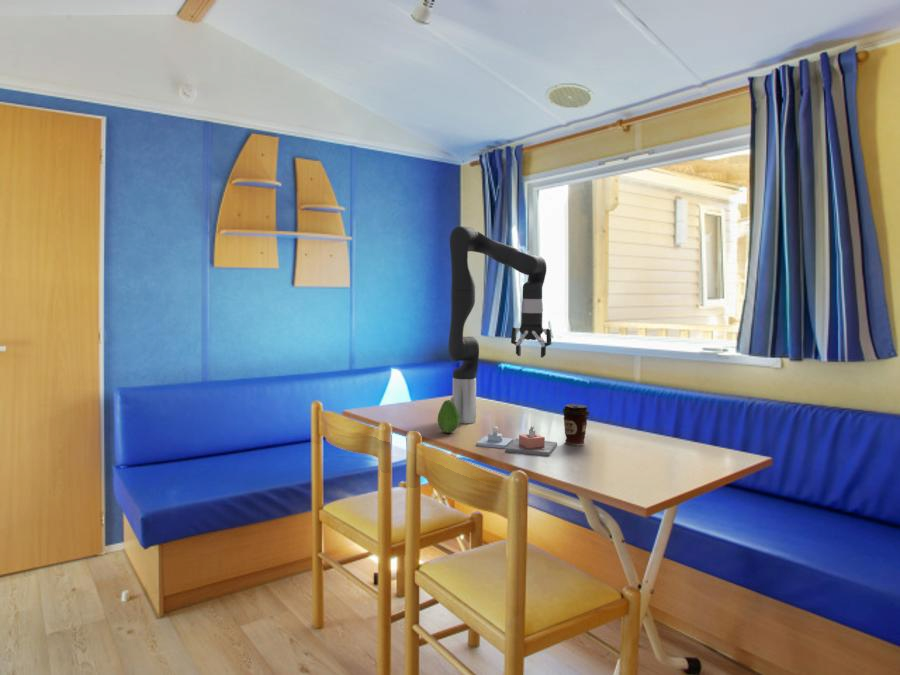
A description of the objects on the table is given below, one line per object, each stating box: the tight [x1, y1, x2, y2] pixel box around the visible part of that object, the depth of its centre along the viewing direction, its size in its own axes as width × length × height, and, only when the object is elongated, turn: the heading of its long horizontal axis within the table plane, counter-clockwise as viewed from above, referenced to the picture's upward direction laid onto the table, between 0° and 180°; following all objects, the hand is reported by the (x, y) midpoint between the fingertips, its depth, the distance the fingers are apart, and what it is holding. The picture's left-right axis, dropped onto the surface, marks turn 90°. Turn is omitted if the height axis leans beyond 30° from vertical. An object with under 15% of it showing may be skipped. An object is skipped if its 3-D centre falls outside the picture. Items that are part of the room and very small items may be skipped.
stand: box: [475, 426, 514, 449], centre depth 206 cm, size 10×10×6 cm
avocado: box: [437, 399, 460, 434], centre depth 221 cm, size 8×8×12 cm
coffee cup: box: [562, 403, 590, 447], centre depth 207 cm, size 9×8×13 cm
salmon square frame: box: [518, 433, 546, 448], centre depth 200 cm, size 6×6×3 cm
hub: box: [504, 426, 558, 457], centre depth 200 cm, size 14×14×7 cm
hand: (530, 356), depth 221 cm, fingers open, 8 cm apart
